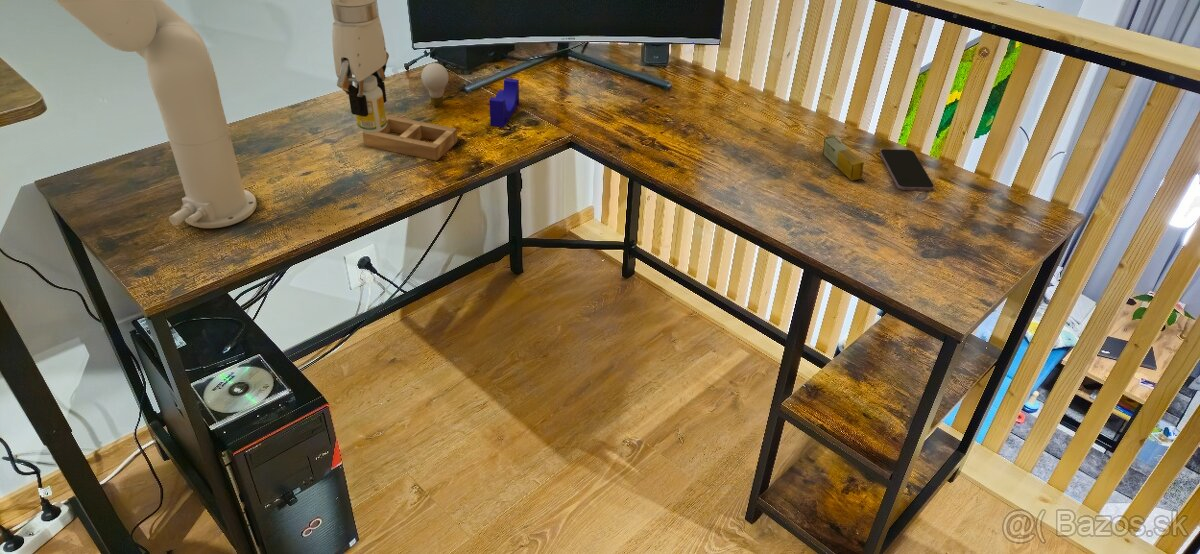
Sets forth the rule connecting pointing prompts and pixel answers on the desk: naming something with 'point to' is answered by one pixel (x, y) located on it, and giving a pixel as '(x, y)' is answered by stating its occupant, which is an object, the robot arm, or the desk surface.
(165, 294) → the desk surface
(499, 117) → the cable clip
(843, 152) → the medication box
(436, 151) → the caddy
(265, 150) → the desk surface
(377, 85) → the robot arm
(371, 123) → the supplement bottle
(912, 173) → the smartphone
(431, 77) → the light bulb
